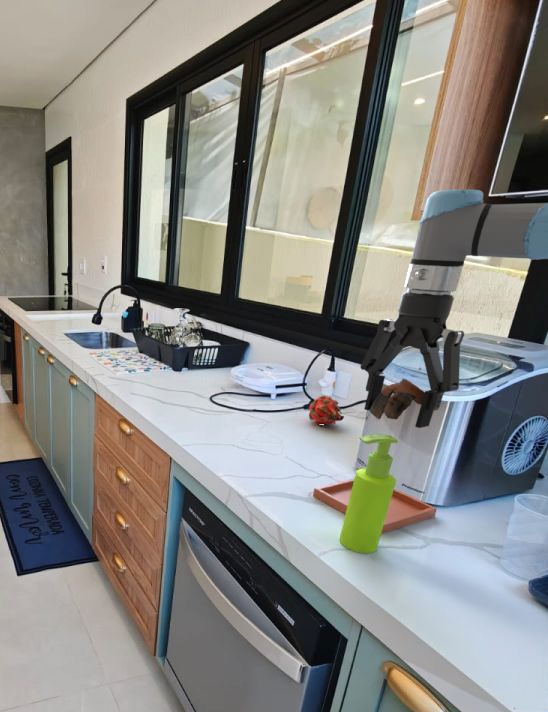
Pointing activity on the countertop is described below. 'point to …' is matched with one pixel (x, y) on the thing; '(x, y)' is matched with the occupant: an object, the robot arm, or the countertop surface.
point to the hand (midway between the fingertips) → (395, 417)
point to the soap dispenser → (369, 498)
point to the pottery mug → (396, 399)
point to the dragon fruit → (325, 411)
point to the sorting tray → (399, 511)
